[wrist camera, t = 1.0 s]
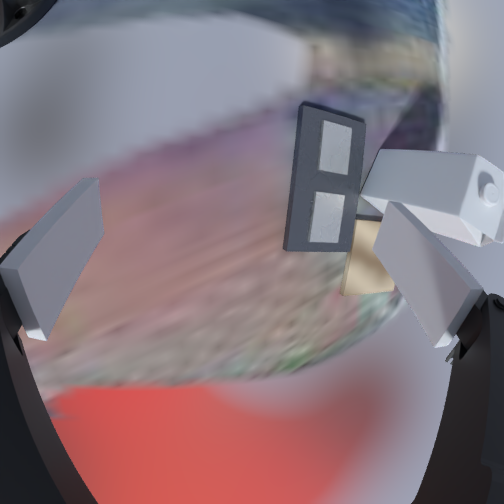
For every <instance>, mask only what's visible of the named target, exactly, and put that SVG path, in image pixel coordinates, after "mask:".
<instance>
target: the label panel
mask: <svg viewBox="0 0 504 504" xmlns="http://www.w3.org/2000/svg"><path fill="white" fill-rule="evenodd" d="M365 133H366V124H365V123H362V122H359V121H356V120H353V119H349V118H346V117H343V116H340V115H337V114H333V113H330V112H326V111H323V110H319V109H316V108H312V107H308V106H305V105H303V106H299V111H298V121H297V131H296V141H295V150H294V159H293V168H292V177H291V186H290V194H289V203H288V211H287V219H286V227H285V235H284V243H283V249H284V250H285V251H303V252H350V249H351V243H352V237H353V231H354V225H355V218H356V212H357V205H358V197H359V190H360V182H361V173H362V164H363V155H364V144H365Z"/></svg>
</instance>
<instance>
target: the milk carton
mask: <svg viewBox="0 0 504 504" xmlns="http://www.w3.org/2000/svg"><path fill="white" fill-rule="evenodd" d="M360 195H361V196H362V197H363V198H364V199H366V200H367V201H368V202H369V203H371V204H372V205H373V206H374V207H376V208H377V209H378V210H379V211H380V212H382V213H383V214H384V213H385V209H386V206H387V203H388V201H394V202H400V203H402V204H403V205H404V206H405V207H406V208H407V209H408V210H409V211H411V212H412V213H413V214H414V215H415V216H416V217H417V218H418V219H419V220H420V221H421V222H422V223H423V224H424V225H425V226H426V227H427V228H428V229H429V230H430V231H431V232H434V233H438V234H441V235H444V236H447V237H451V238H454V239H457V240H460V241H463V242H466V243H469V244H472V245H475V246H478V247H481V246H484V245H486V244H489V243H491V242H493V241H496V242H499V243H503V242H504V172H503V171H501V170H500V169H499V168H497V167H496V166H494V165H493V164H492V163H490V162H489V161H487V160H486V159H484V158H483V157H481V156H480V155H474V154H465V153H453V152H441V151H425V150H402V149H380V150H379V153H378V155H377V157H376V159H375V162H374V164H373V166H372V169H371V171H370V173H369V175H368V178H367V180H366V182H365V184H364V186H363V189H362V191H361V193H360Z"/></svg>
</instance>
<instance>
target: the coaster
mask: <svg viewBox="0 0 504 504" xmlns="http://www.w3.org/2000/svg"><path fill="white" fill-rule="evenodd" d="M380 225H381V222H379V221H369V220H359V219H355V225H354V231H353V237H352V243H351V249H350V252H348V254H347V259H346V265H345V270H344V275H343V280H342V285H341V290H340V294H341V295H342V296H350V295H360V294H369V293H378V292H387V291H393V289H394V285H395V283H394V281H393V280H392V278H391V277H390V275H389V274H388V272H387V271H386V269H385V268H384V266H383V265H382V263H381V262H380V260H379V259H378V257H377V256H376V255H375V253H374V252H373V250H372V248H373V245H374V243H375V240H376V237H377V234H378V231H379V228H380Z"/></svg>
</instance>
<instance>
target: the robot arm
mask: <svg viewBox="0 0 504 504" xmlns="http://www.w3.org/2000/svg"><path fill="white" fill-rule="evenodd" d="M55 1H56V0H0V48H1V47H3V46H5V45H7V44H8V43H10V42H12V41H13V40H15V39H16V38H18V37H19V36H21V35H22V34H23V33H25V32H26V31H27V30H28V29H30V28H31V27H32V26H33V25H34V24H35V23H36V22H37V21H39V20H40V19H41V18H42V16H43V15H44V14H45V13H46V12H47V11H48V10H49V9H50V7H51V6H52V5H53V4H54V2H55ZM103 235H104V227H103V219H102V211H101V201H100V191H99V179H98V178H83V179H82V180H81V181H79V182H78V183H77V184H76V185H75V186H74V187H73V188H72V189H71V190H70V191H69V192H67V193H66V194H65V195H64V196H63V197H62V198H61V199H60V200H59V201H58V202H57V203H56V204H55V205H54V206H53V207H52V208H51V209H50V210H49V211H48V212H47V213H46V214H45V215H44V216H43V217H42V218H41V219H40V220H39V221H38V222H37V223H36V224H35V225H34V227H33V228H32V229H31V230H28V231H27V232H25V233H24V234H22V235H21V236H19V237H18V238H17V239H16V241H15V242H14V243H13V244H12V246H10V247H9V248H8V250H7V251H6V253H4V254H3V255H2V257H1V258H0V504H98V503H97V501H96V500H95V498H94V497H93V495H92V494H91V492H90V491H89V489H88V488H87V486H86V485H85V483H84V481H83V480H82V478H81V476H80V475H79V473H78V471H77V470H76V468H75V467H74V465H73V463H72V461H71V459H70V458H69V456H68V454H67V452H66V450H65V448H64V446H63V444H62V442H61V440H60V438H59V436H58V434H57V432H56V430H55V428H54V426H53V424H52V422H51V419H50V417H49V415H48V413H47V410H46V408H45V406H44V403H43V401H42V399H41V396H40V394H39V391H38V388H37V386H36V383H35V380H34V378H33V375H32V372H31V369H30V366H29V363H28V360H27V357H26V354H25V351H24V347H23V344H22V341H21V338H20V337H19V335H18V331H19V329H20V327H21V325H23V327H24V329H25V331H26V333H27V335H28V337H30V338H35V339H40V340H44V341H47V339H48V337H49V335H50V333H51V330H52V328H53V326H54V324H55V322H56V320H57V318H58V316H59V314H60V312H61V310H62V308H63V306H64V304H65V302H66V300H67V298H68V296H69V294H70V292H71V290H72V289H73V287H74V285H75V283H76V281H77V279H78V277H79V276H80V274H81V272H82V270H83V269H84V267H85V265H86V263H87V262H88V260H89V258H90V256H91V255H92V253H93V251H94V250H95V248H96V246H97V245H98V243H99V241H100V240H101V238H102V237H103ZM372 250H373V252H374V253H375V255H376V256H377V257H378V259H379V260H380V262H381V263H382V265H383V266H384V268H385V269H386V271H387V272H388V274H389V275H390V277H391V278H392V280H393V281H394V283H395V284H396V286H397V287H398V289H399V291H400V292H401V294H402V295H403V297H404V298H405V300H406V302H407V303H408V305H409V306H410V308H411V309H412V311H413V313H414V314H415V316H416V318H417V319H418V321H419V323H420V324H421V326H422V328H423V330H424V331H425V333H426V335H427V336H428V338H429V340H430V342H431V343H432V345H433V347H434V348H437V347H443V346H448V345H449V343H450V342H451V340H452V339H453V337H454V336H455V335H456V334H457V336H458V338H459V339H460V340H459V342H458V343H457V344H456V346H455V347H454V348H453V350H452V351H451V353H450V354H449V355H448V357H447V358H446V360H445V361H446V362H448V361H449V359H450V358H453V361H452V362H451V363H450V364H452V370H451V376H450V382H449V387H448V392H447V397H446V402H445V406H444V410H443V415H442V419H441V423H440V426H439V430H438V434H437V438H436V441H435V444H434V448H433V451H432V454H431V457H430V460H429V463H428V466H427V469H426V472H425V475H424V477H423V480H422V483H421V485H420V488H419V491H418V493H417V495H416V497H415V499H414V501H413V502H412V503H411V504H504V298H503V297H501V296H499V295H497V294H492V293H491V294H489V295H487V294H486V293H485V292H484V290H483V287H482V286H481V285H480V284H479V283H478V282H477V280H476V279H475V278H474V277H473V276H472V275H471V274H470V272H468V270H467V269H466V268H465V267H464V266H463V265H462V263H461V262H460V261H459V260H458V259H457V258H456V257H455V256H454V255H453V254H452V252H450V250H449V249H448V248H447V247H446V246H445V245H444V244H443V243H442V242H441V241H440V240H439V239H438V238H437V237H436V236H435V235H434V234H433V233H432V232H431V231H430V230H429V229H428V228H427V227H426V226H425V225H424V224H423V223H422V222H421V221H420V220H419V219H418V218H417V217H416V216H415V215H414V214H413V213H412V212H411V211H409V210H408V209H407V208H406V207H405V206H404V205H403V204H402V203H400V202H394V201H388V203H387V206H386V209H385V213H384V216H383V219H382V222H381V225H380V228H379V231H378V234H377V237H376V240H375V243H374V245H373V248H372Z"/></svg>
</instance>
